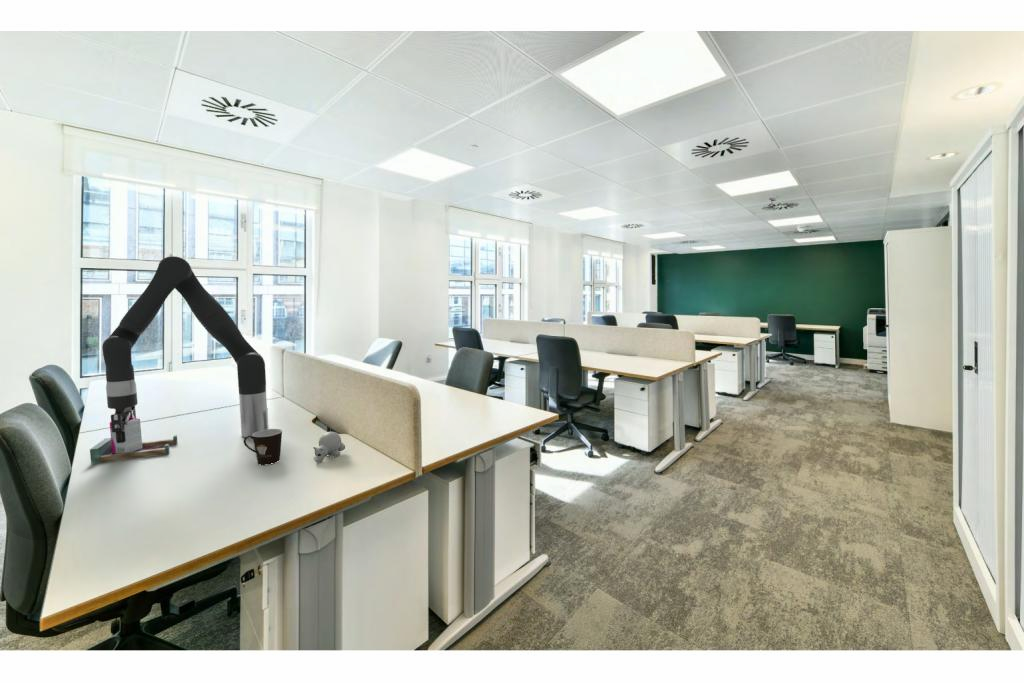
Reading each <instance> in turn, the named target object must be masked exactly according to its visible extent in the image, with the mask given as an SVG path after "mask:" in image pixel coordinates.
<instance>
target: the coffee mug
mask: <svg viewBox="0 0 1024 683" xmlns="http://www.w3.org/2000/svg"><path fill="white" fill-rule="evenodd" d="M282 435H283V430H282V429H280V428H269V429H266V430H261V431H258V432H255V433H253V434H252V436H253V437H252V436H248V437H244V439H243V444H244V446H245V447H246V448H247V449H248V450H250V451H251V452H253V453H254V454H255V457H256V461H257V464H258V465H259V464H261V465H260V466H266V465H265V464H271V463H274V464H276V463H275V462H277V461H279V460H281V453H282V452H281V449H282V437H283V436H282ZM247 439H252V441H253V447H254V448H252V447H251V446H249V445H248V443H247V442H246V441H247ZM279 462H280V461H279ZM277 463H278V462H277ZM271 465H272V464H271Z"/></svg>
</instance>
